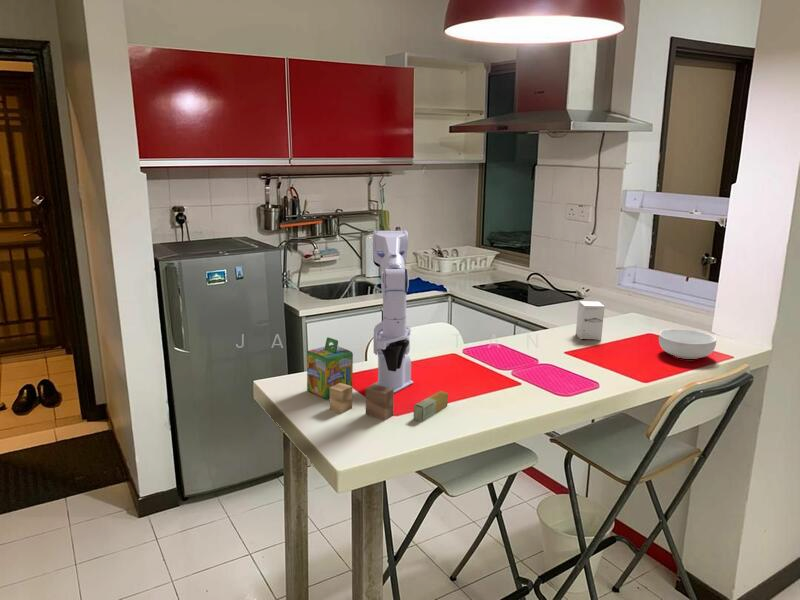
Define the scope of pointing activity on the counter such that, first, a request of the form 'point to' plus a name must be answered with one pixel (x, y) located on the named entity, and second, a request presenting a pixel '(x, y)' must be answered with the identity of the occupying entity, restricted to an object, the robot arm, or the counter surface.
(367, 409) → the walnut block
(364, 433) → the counter surface
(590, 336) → the supplement box
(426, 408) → the medication box
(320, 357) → the chalk box
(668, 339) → the cereal bowl
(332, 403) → the oak block
